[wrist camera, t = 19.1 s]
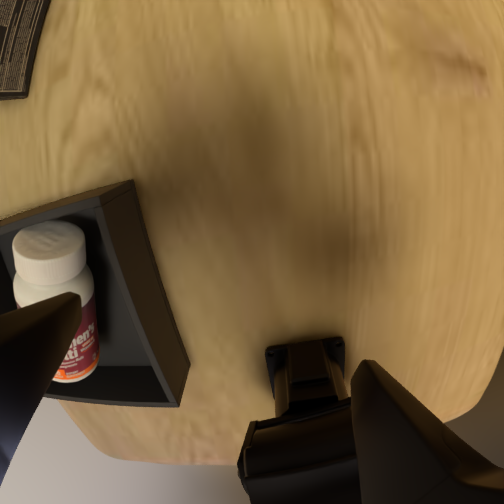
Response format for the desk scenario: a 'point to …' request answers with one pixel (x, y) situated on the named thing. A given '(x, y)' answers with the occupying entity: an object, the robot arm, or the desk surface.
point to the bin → (113, 300)
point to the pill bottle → (59, 285)
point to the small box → (18, 44)
